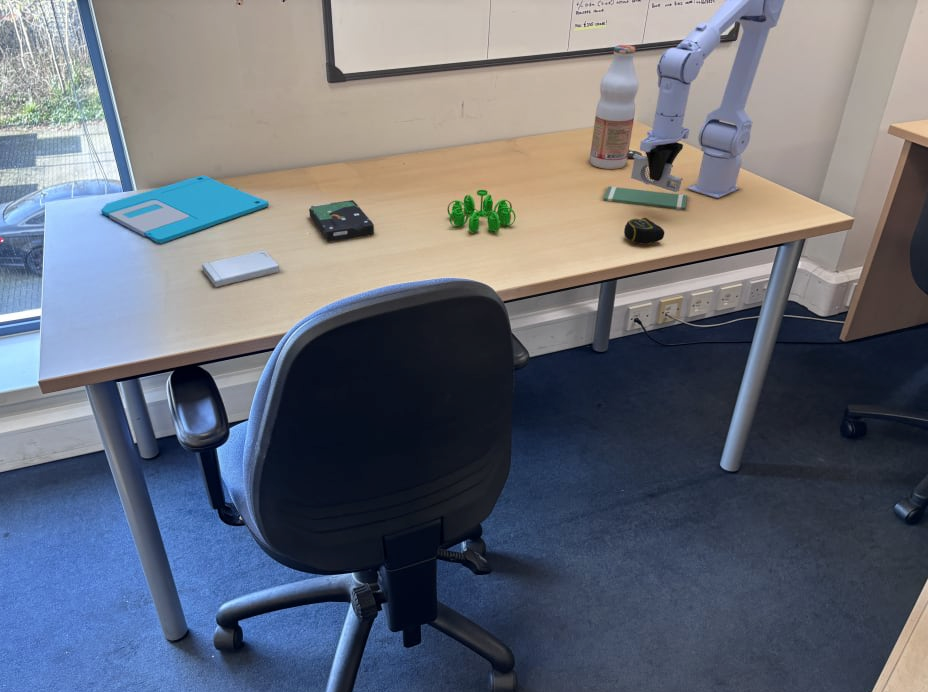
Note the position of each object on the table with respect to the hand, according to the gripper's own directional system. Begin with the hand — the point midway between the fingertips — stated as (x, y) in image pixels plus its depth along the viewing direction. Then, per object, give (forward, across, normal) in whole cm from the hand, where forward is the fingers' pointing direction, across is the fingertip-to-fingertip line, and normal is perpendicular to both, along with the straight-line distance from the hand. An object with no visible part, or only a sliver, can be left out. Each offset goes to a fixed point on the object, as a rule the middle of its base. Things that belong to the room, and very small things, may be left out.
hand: (657, 178), depth 159 cm
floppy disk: (+8, +76, -70) cm, 104 cm away
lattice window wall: (+2, 0, 0) cm, 2 cm away
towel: (+8, -7, -6) cm, 13 cm away
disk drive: (+8, +55, -40) cm, 69 cm away
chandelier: (+8, +31, -22) cm, 39 cm away
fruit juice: (+8, -21, -28) cm, 35 cm away
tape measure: (+8, +12, +6) cm, 16 cm away
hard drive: (+8, +82, -34) cm, 90 cm away
